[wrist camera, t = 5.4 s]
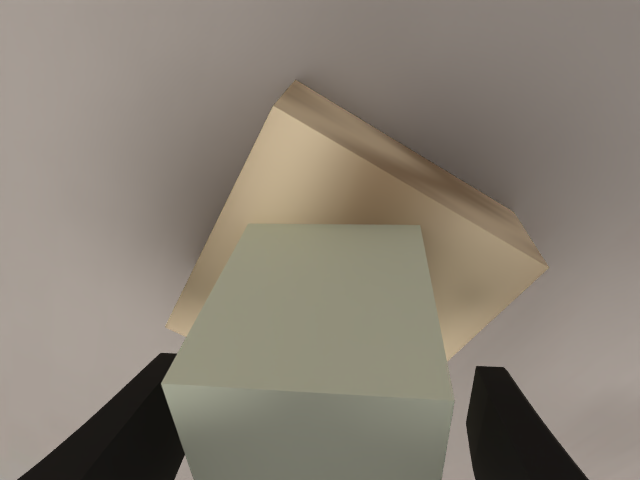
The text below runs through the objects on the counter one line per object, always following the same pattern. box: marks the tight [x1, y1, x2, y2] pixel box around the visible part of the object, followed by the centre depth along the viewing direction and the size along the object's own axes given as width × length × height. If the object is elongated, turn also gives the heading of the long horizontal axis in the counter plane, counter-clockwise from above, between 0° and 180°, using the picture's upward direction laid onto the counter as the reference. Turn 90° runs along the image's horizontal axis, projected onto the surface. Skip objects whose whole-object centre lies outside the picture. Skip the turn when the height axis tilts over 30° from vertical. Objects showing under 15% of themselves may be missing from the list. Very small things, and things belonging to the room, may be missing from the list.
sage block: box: [161, 224, 455, 480], centre depth 11 cm, size 5×5×6 cm
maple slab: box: [165, 80, 549, 361], centre depth 15 cm, size 9×9×4 cm
